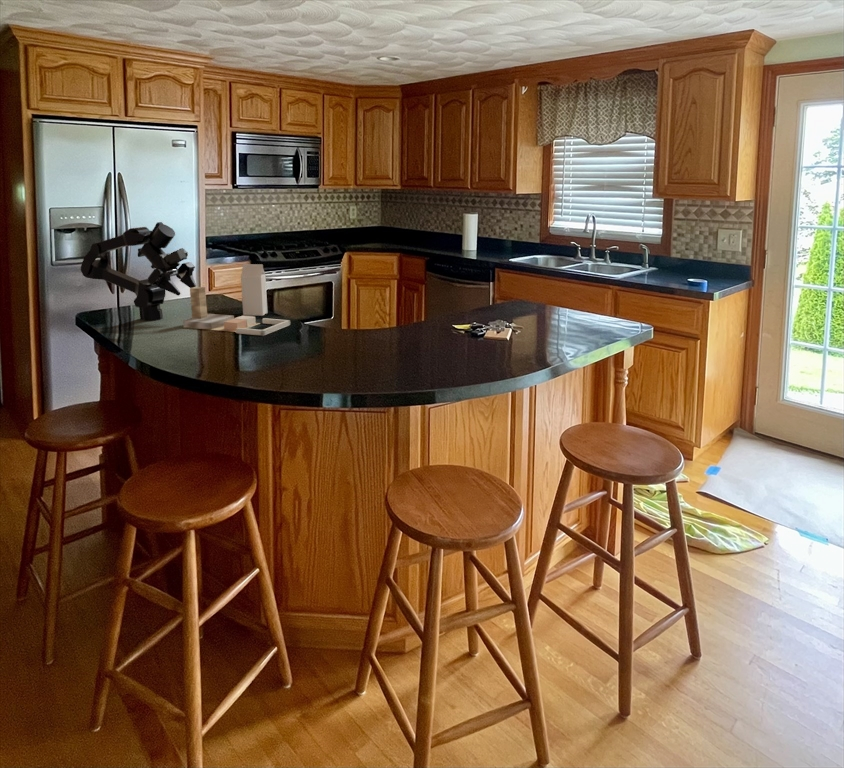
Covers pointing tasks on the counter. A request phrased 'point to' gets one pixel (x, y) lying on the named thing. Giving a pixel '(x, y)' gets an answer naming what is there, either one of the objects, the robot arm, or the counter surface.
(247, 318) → the tile
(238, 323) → the tile
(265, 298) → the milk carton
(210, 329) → the board
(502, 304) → the counter surface
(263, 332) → the tray
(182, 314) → the counter surface
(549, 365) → the counter surface
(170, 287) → the robot arm
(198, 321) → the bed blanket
